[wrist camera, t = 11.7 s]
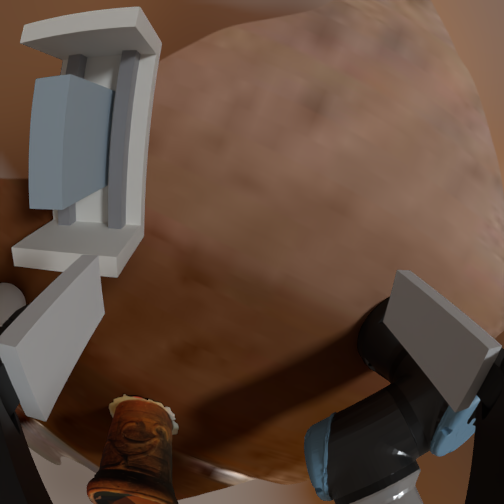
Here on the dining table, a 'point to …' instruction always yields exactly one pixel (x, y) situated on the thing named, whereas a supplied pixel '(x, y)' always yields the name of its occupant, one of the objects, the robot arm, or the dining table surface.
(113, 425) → the vessel
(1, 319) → the white air blower bulb
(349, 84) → the dining table surface
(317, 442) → the robot arm
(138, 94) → the door track
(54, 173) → the sliding door panel
